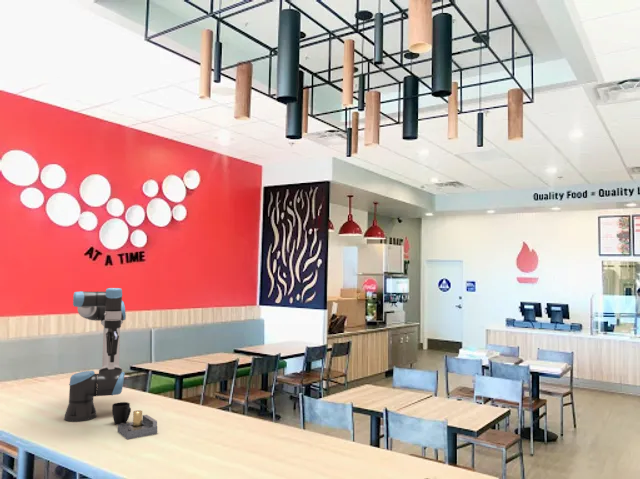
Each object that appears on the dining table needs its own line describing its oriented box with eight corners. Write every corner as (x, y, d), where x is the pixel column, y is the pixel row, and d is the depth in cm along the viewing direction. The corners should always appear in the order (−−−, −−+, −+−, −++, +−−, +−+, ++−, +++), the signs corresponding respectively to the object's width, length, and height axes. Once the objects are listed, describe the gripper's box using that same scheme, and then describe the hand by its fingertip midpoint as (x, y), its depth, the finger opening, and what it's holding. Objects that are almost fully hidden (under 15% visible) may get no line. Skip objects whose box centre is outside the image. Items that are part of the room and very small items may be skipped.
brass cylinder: (131, 432, 246) (132, 411, 247) (139, 431, 249) (140, 409, 249) (134, 434, 243) (135, 413, 244) (142, 433, 246) (143, 411, 246)
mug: (120, 428, 253) (121, 408, 254) (108, 423, 261) (109, 404, 262) (136, 424, 259) (136, 405, 260) (123, 420, 267) (124, 401, 268)
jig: (117, 431, 247) (118, 419, 247) (146, 426, 256) (147, 414, 256) (127, 439, 236) (127, 425, 236) (157, 433, 245) (157, 420, 245)
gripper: (101, 319, 255) (99, 367, 253) (108, 321, 245) (106, 371, 243) (116, 318, 259) (114, 366, 258) (125, 320, 249) (123, 370, 248)
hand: (111, 368), depth 250 cm, fingers closed
